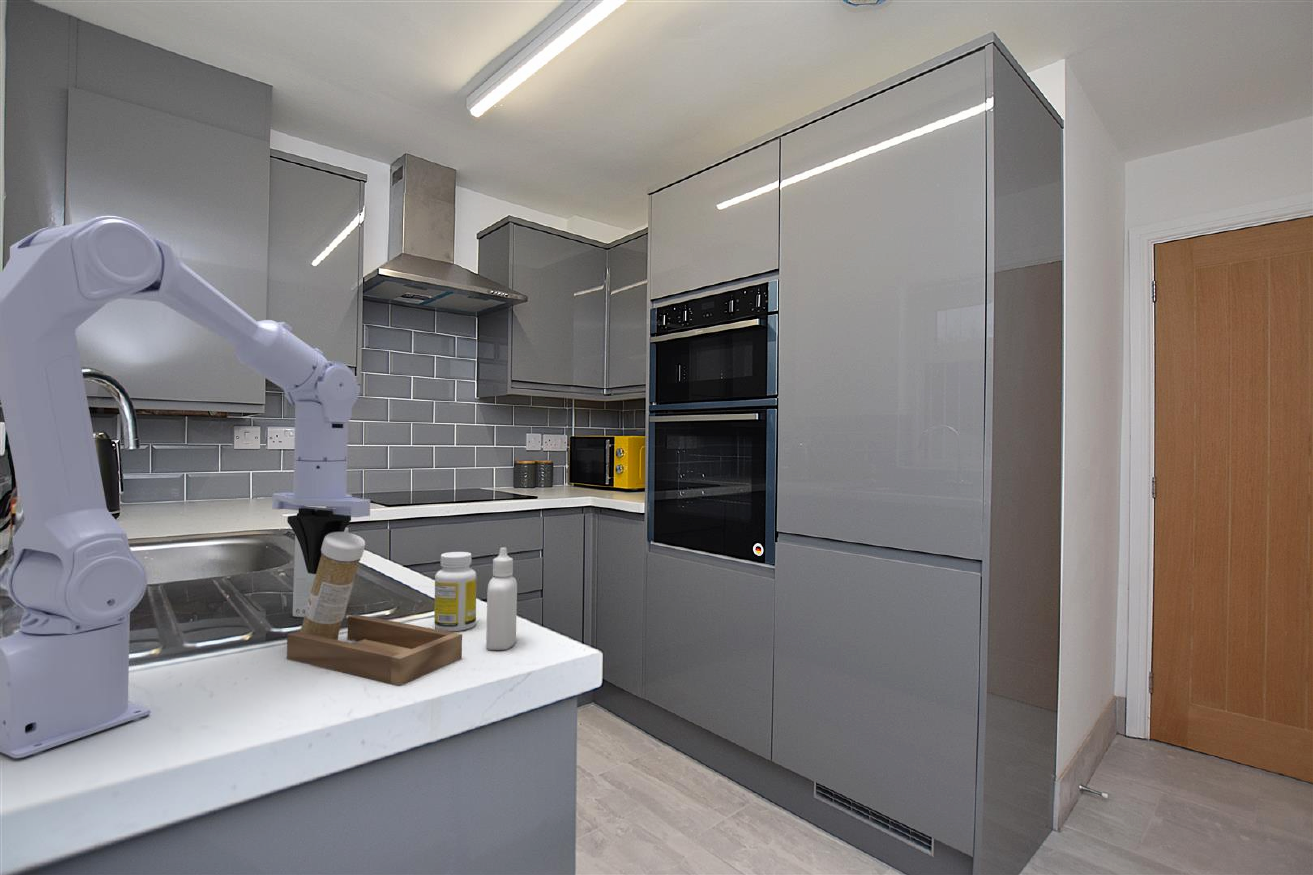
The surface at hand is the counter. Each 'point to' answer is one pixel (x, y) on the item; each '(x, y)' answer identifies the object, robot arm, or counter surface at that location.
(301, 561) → the skincare box
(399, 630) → the wooden tray
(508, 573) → the eye dropper bottle
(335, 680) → the counter surface
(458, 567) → the supplement bottle
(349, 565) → the sprinkles bottle
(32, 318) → the robot arm
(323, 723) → the counter surface
